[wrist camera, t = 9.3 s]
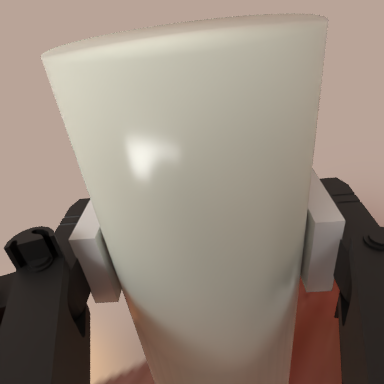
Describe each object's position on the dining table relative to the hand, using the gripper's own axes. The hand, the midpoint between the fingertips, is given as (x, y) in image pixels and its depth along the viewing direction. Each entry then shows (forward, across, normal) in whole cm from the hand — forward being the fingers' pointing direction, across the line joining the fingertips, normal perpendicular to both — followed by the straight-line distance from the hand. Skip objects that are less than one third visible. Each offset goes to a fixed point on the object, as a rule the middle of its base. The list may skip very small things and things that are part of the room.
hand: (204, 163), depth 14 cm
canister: (-5, 0, -8) cm, 9 cm away
